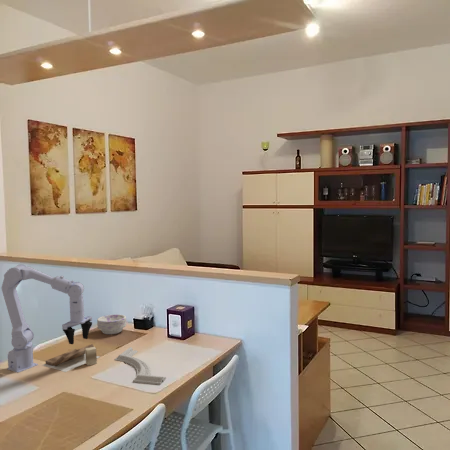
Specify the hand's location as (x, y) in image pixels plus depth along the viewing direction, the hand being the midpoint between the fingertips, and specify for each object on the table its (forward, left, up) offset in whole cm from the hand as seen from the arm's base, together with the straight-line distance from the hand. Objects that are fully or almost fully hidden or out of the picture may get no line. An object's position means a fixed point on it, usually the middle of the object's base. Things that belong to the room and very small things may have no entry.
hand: (78, 341), depth 187 cm
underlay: (0, +5, -10) cm, 11 cm away
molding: (+10, -27, -11) cm, 31 cm away
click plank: (0, +3, -7) cm, 8 cm away
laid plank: (0, +10, -10) cm, 14 cm away
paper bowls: (+39, +20, -10) cm, 45 cm away
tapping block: (+2, -4, -6) cm, 8 cm away
